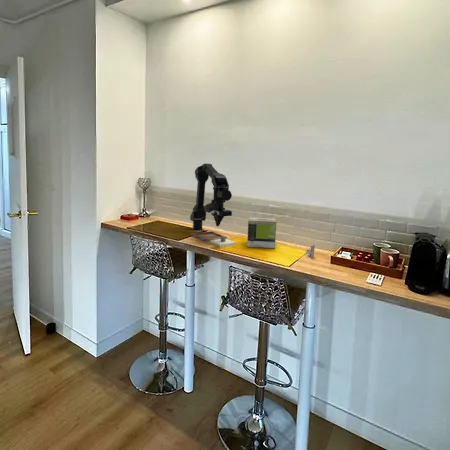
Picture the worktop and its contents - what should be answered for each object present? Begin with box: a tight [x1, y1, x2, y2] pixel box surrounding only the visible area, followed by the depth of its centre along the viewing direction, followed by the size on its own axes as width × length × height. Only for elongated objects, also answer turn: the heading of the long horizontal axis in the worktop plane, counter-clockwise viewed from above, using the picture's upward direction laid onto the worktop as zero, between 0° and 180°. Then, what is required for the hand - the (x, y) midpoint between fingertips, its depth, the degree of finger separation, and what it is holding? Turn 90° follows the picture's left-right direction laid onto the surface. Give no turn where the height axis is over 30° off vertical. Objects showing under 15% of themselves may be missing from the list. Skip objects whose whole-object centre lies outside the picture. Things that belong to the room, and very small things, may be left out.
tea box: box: [246, 217, 277, 249], centre depth 189 cm, size 15×10×15 cm, turn 84°
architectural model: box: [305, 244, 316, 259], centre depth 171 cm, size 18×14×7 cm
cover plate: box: [209, 235, 237, 248], centre depth 190 cm, size 10×10×5 cm
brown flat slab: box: [189, 230, 228, 242], centre depth 202 cm, size 16×15×2 cm
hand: (217, 226), depth 193 cm, fingers closed
